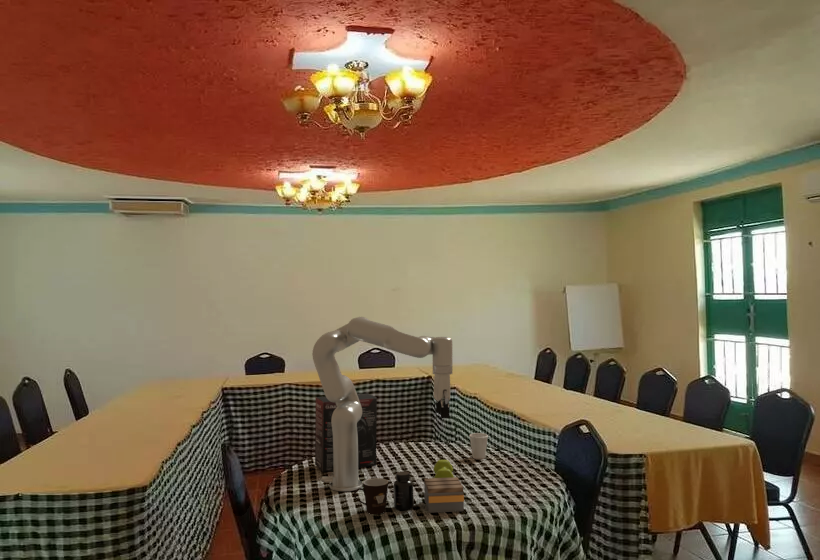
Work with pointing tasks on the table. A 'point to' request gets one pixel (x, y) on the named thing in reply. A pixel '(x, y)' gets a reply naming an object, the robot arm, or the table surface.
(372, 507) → the coffee mug
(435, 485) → the pallet
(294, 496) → the table surface
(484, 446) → the dixie cup
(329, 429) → the headset box
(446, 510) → the dock
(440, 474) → the dumbbell
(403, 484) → the supplement bottle
